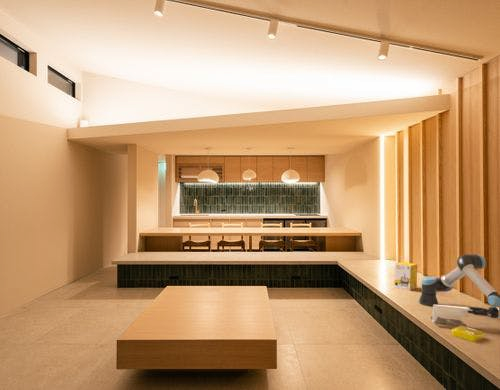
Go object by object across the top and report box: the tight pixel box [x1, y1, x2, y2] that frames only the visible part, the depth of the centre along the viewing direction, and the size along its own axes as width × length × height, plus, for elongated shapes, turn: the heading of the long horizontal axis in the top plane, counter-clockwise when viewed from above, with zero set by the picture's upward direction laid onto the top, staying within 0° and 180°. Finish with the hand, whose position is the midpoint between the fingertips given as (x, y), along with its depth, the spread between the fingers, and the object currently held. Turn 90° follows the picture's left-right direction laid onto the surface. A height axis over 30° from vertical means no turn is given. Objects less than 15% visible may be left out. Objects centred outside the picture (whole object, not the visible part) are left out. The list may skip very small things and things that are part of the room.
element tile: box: [451, 326, 485, 343], centre depth 242 cm, size 15×15×5 cm
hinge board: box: [430, 315, 470, 330], centre depth 265 cm, size 20×20×4 cm
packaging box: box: [393, 261, 418, 291], centre depth 375 cm, size 16×16×25 cm
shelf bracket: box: [431, 304, 471, 323], centre depth 264 cm, size 6×25×13 cm, turn 83°
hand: (461, 309), depth 264 cm, fingers closed on shelf bracket, 4 cm apart
